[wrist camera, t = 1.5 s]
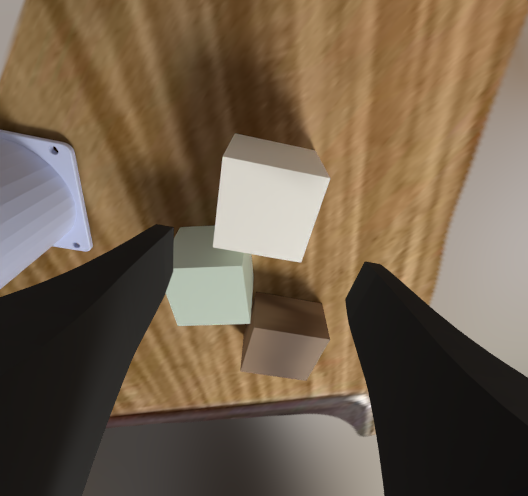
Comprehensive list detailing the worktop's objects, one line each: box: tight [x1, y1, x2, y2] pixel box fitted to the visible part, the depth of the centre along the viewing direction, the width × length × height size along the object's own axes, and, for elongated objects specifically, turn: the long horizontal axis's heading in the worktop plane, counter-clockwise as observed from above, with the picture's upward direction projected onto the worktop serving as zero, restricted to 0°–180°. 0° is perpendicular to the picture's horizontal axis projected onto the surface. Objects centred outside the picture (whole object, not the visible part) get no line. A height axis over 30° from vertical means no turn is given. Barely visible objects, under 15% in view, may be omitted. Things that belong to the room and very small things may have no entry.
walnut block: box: [240, 292, 330, 381], centre depth 24 cm, size 6×6×4 cm
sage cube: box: [166, 226, 254, 326], centre depth 19 cm, size 5×5×5 cm
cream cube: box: [213, 133, 330, 262], centre depth 16 cm, size 5×5×5 cm
